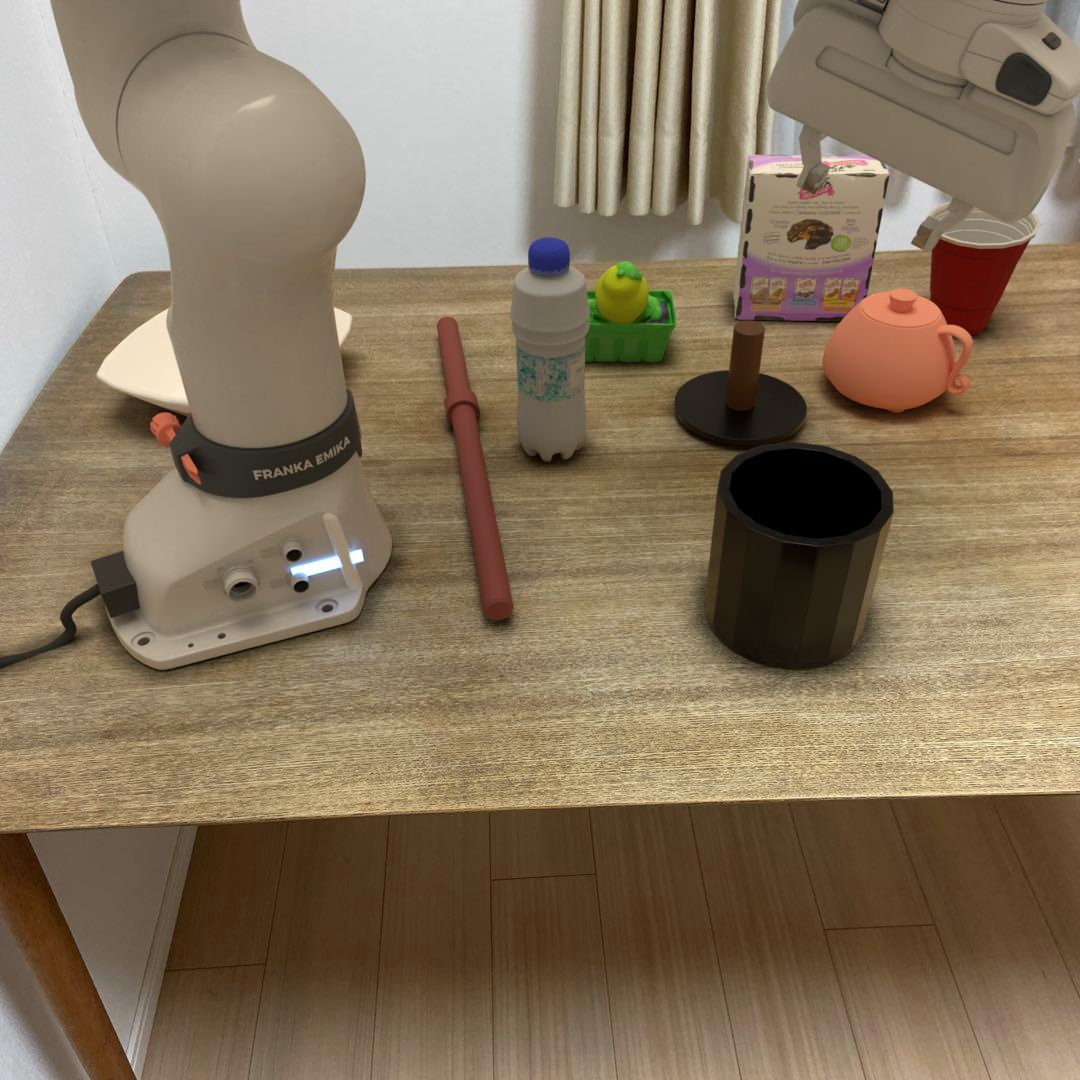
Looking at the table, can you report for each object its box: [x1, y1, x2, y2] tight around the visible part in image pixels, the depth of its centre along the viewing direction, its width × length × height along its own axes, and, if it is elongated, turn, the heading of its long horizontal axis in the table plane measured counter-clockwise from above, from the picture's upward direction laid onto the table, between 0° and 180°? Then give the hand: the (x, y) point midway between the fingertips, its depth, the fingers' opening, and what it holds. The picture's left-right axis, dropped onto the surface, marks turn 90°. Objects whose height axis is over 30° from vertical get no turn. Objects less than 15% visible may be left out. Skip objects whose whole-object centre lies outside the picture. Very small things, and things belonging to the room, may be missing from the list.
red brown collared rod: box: [436, 316, 515, 621], centre depth 92 cm, size 45×3×3 cm, turn 9°
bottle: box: [509, 236, 590, 462], centre depth 87 cm, size 7×7×20 cm
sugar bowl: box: [821, 288, 974, 413], centre depth 97 cm, size 12×14×10 cm
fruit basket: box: [585, 261, 678, 363], centre depth 103 cm, size 11×9×11 cm
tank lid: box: [673, 320, 808, 446], centre depth 95 cm, size 12×12×9 cm
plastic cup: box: [925, 201, 1042, 337], centre depth 106 cm, size 11×11×12 cm
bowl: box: [96, 306, 353, 417], centre depth 101 cm, size 22×22×5 cm
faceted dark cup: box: [703, 441, 895, 670], centre depth 73 cm, size 12×12×12 cm
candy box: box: [732, 154, 891, 322], centre depth 108 cm, size 14×6×16 cm, turn 84°
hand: (864, 216), depth 75 cm, fingers open, 8 cm apart
